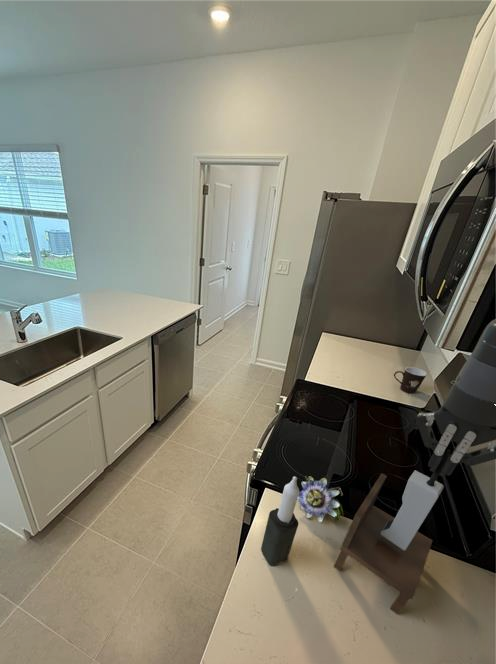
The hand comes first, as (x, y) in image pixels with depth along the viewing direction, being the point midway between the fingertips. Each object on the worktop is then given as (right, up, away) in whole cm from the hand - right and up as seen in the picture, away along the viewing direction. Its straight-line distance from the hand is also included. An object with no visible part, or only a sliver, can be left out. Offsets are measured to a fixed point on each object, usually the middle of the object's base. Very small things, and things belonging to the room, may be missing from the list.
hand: (437, 471), depth 55 cm
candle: (-26, -24, +17) cm, 39 cm away
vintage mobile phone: (-1, -17, +10) cm, 20 cm away
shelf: (-2, -26, +16) cm, 30 cm away
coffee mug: (+52, +13, +90) cm, 104 cm away
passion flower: (-12, -18, +28) cm, 36 cm away
